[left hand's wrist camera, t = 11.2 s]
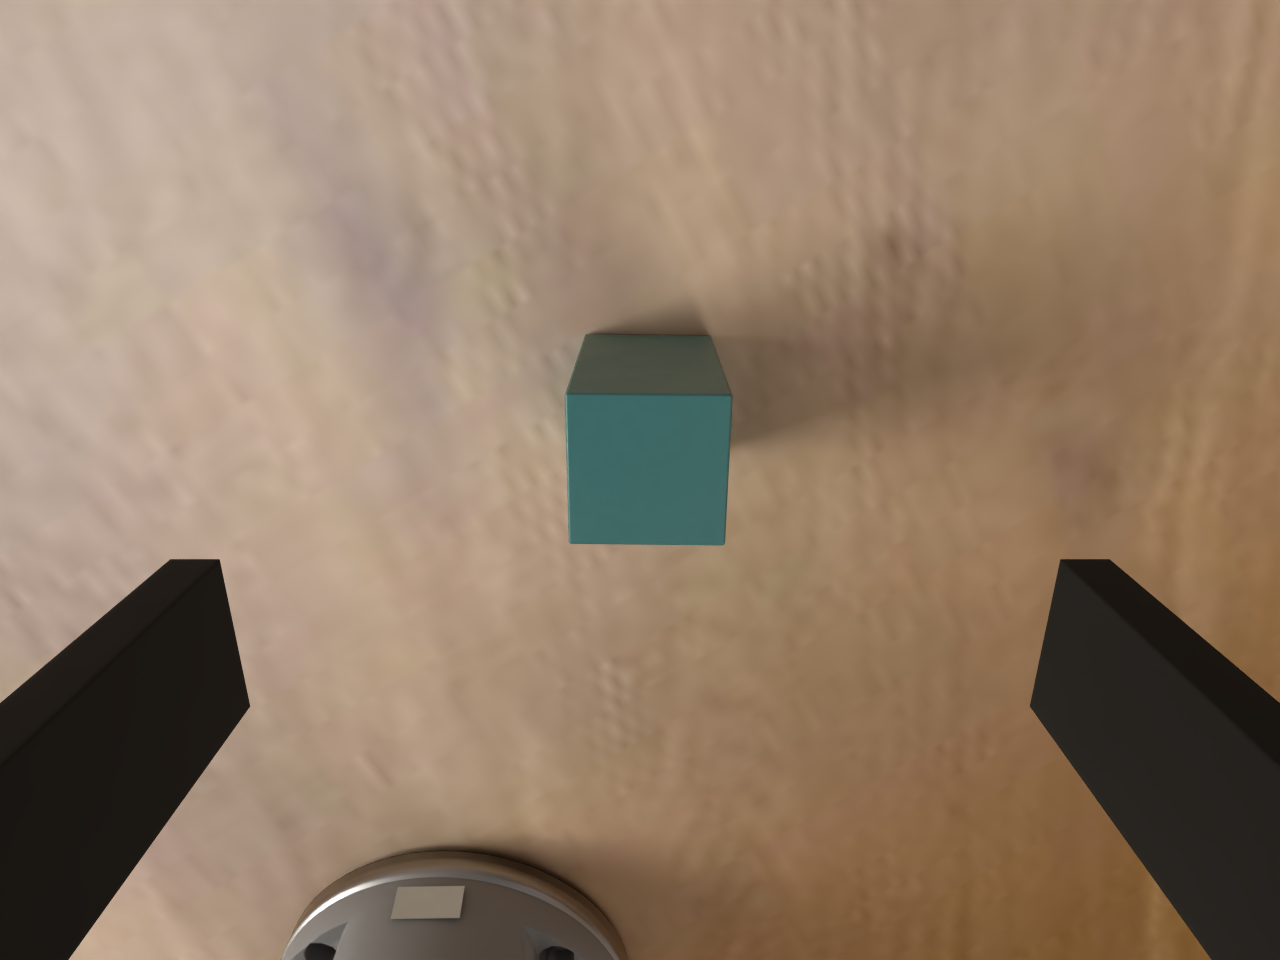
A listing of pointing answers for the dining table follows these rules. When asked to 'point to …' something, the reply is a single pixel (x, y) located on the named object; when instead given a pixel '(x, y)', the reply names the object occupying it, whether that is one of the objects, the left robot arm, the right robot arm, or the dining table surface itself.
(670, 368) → the teal block
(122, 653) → the left robot arm
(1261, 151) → the dining table surface
